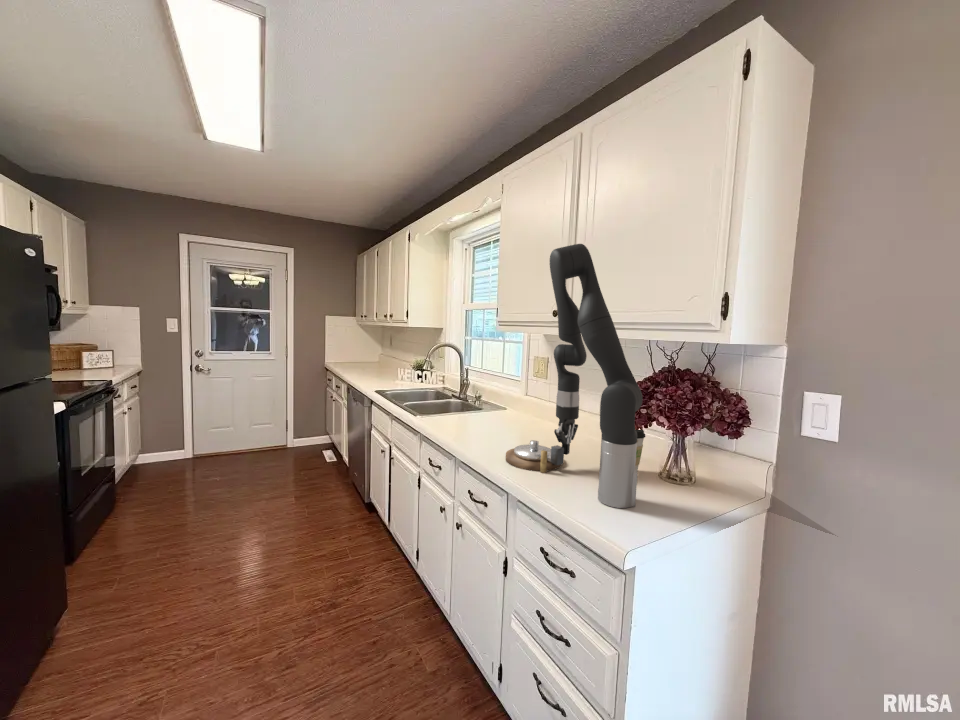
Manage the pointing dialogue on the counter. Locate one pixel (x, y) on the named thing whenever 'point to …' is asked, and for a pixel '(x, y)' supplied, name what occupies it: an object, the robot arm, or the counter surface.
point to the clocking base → (530, 462)
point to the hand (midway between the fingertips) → (565, 453)
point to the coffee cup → (639, 446)
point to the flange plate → (534, 452)
